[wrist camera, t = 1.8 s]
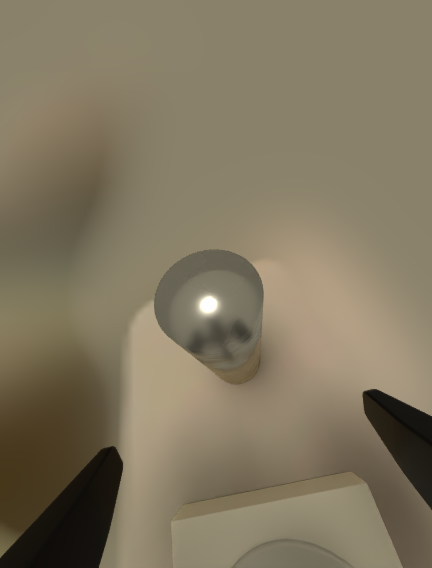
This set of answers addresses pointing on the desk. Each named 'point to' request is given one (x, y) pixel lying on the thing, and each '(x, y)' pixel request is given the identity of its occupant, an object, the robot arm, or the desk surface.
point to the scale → (286, 528)
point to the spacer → (214, 311)
